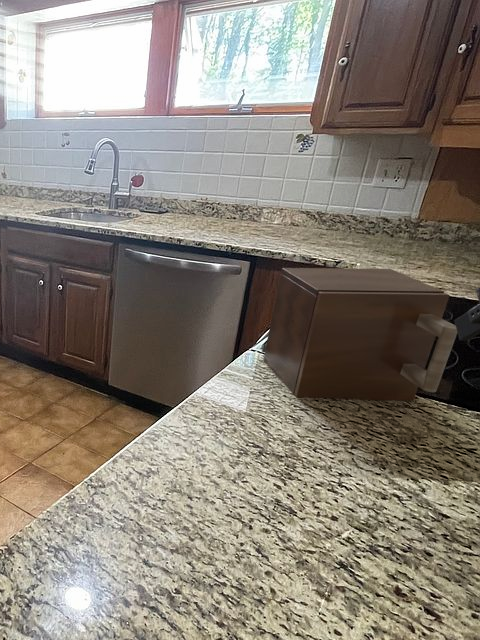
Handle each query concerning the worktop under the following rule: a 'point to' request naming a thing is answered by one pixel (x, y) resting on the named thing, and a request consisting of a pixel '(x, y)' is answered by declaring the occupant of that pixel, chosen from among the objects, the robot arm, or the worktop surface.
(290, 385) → the cupboard
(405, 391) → the door
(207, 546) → the worktop surface
